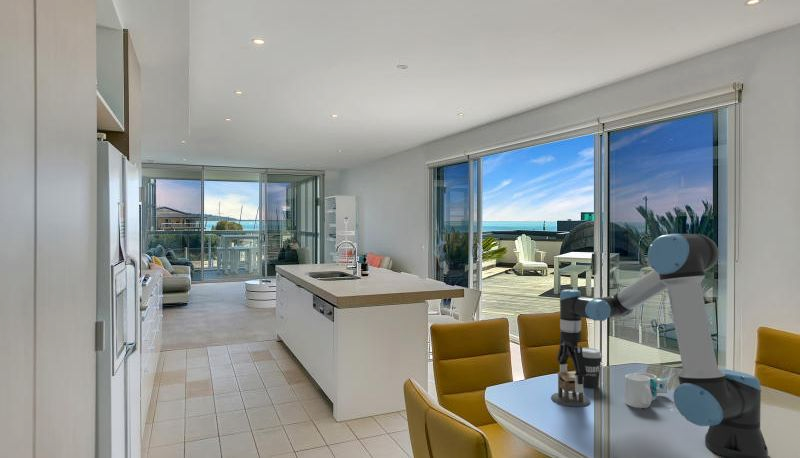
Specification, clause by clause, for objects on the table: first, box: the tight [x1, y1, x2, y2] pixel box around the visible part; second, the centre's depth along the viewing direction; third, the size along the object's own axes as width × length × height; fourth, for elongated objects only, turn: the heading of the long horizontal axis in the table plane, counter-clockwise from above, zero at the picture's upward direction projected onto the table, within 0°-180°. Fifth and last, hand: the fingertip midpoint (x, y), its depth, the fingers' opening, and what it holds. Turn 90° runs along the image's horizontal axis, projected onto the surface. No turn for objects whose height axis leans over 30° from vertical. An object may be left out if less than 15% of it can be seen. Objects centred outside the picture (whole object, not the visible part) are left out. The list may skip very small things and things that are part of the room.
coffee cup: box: [582, 347, 603, 390], centre depth 196 cm, size 10×10×15 cm
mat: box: [550, 391, 591, 408], centre depth 180 cm, size 14×14×1 cm
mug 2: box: [633, 371, 668, 401], centre depth 184 cm, size 8×12×8 cm
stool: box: [557, 371, 584, 402], centre depth 180 cm, size 7×7×9 cm
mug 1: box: [624, 373, 653, 409], centre depth 173 cm, size 12×8×10 cm
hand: (571, 386), depth 179 cm, fingers open, 13 cm apart
